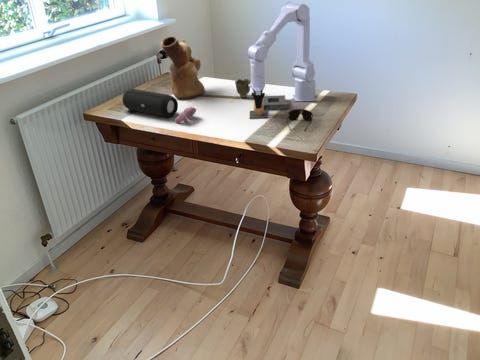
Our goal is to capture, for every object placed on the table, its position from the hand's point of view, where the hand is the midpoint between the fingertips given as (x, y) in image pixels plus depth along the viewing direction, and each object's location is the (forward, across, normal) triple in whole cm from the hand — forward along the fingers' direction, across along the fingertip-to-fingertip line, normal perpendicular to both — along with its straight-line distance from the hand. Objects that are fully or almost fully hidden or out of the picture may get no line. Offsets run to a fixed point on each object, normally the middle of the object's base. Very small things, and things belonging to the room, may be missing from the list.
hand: (258, 104), depth 192 cm
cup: (+5, -22, -7) cm, 24 cm away
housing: (+5, -10, +7) cm, 13 cm away
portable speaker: (+5, -7, -49) cm, 50 cm away
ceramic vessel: (+5, -26, -36) cm, 45 cm away
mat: (+5, 0, 0) cm, 5 cm away
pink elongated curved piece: (+5, +3, -32) cm, 32 cm away
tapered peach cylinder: (+4, 0, 0) cm, 4 cm away
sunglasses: (+5, +12, +17) cm, 21 cm away
